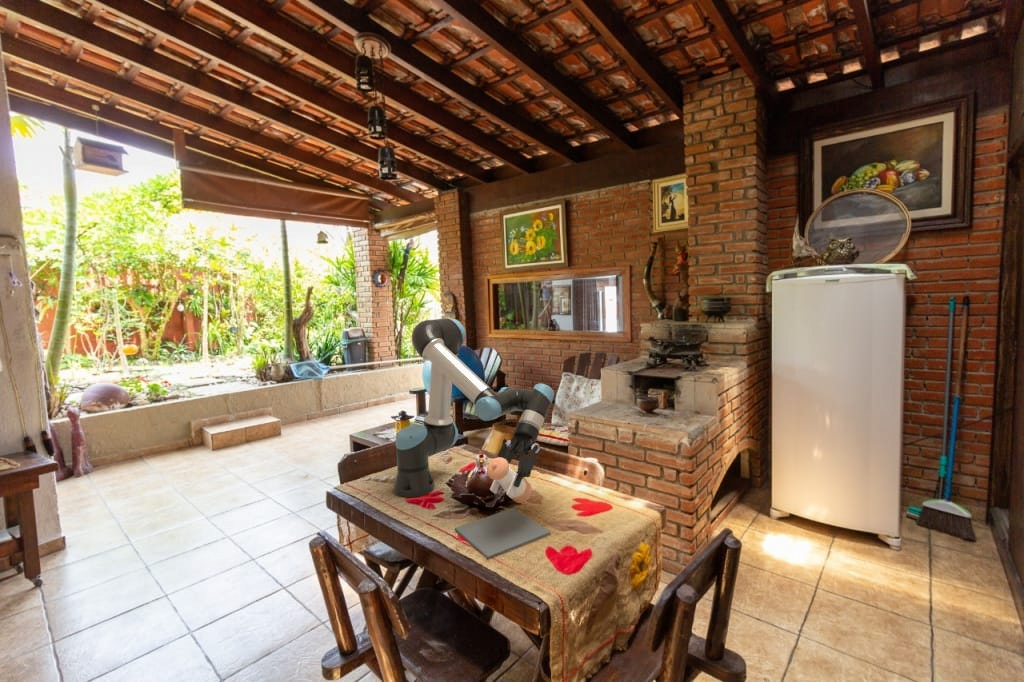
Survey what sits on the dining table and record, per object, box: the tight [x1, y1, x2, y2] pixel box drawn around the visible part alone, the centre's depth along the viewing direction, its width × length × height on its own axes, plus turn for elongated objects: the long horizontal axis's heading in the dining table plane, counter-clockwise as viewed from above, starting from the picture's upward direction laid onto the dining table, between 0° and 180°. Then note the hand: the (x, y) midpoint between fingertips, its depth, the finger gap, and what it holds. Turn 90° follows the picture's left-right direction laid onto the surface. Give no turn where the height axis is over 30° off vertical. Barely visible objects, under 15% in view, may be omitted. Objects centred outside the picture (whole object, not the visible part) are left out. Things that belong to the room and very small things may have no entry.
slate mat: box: [454, 507, 552, 560], centre depth 140 cm, size 20×22×1 cm
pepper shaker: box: [486, 457, 533, 504], centre depth 141 cm, size 7×7×19 cm
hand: (500, 493), depth 139 cm, fingers closed on pepper shaker, 5 cm apart
